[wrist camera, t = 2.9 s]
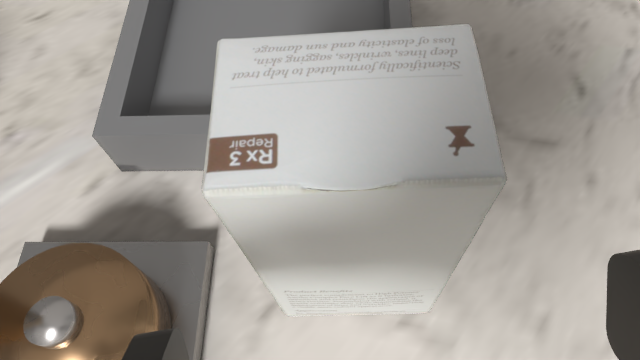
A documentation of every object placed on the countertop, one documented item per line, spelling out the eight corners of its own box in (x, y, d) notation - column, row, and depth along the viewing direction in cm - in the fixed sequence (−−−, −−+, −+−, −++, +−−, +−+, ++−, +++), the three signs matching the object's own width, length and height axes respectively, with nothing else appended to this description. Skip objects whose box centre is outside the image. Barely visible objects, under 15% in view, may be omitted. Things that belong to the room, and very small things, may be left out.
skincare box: (418, 219, 22) (484, 4, 11) (431, 322, 20) (528, 179, 9) (280, 224, 22) (214, 19, 11) (278, 326, 20) (194, 193, 9)
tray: (121, 171, 24) (92, 136, 21) (168, -27, 30) (150, -74, 28) (413, 167, 23) (422, 130, 20) (396, -35, 30) (401, -84, 27)
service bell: (-24, 454, 18) (-121, 457, 14) (38, 250, 22) (-27, 210, 18) (188, 458, 18) (144, 463, 14) (214, 249, 22) (185, 208, 18)
